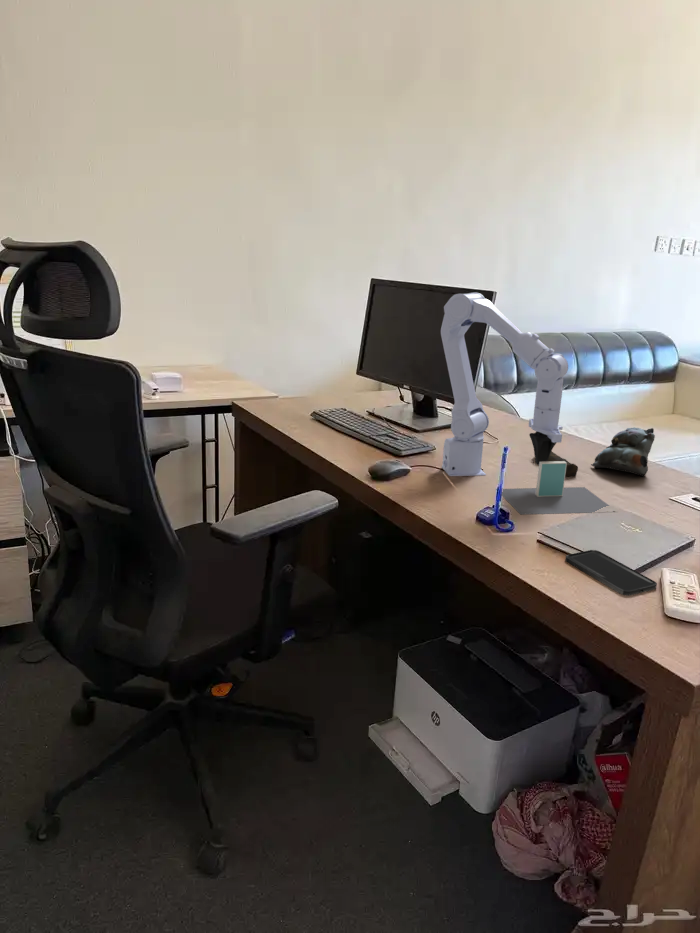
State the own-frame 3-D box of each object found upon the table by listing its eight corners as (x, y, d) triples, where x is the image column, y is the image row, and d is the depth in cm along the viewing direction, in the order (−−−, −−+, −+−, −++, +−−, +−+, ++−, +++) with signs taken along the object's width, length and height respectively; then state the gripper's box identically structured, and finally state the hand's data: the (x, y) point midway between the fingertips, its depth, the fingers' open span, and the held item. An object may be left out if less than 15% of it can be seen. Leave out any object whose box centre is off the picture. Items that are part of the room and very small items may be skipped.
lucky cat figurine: (582, 465, 180) (599, 416, 181) (618, 481, 182) (635, 433, 183) (616, 465, 165) (635, 413, 166) (656, 483, 168) (674, 431, 169)
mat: (520, 516, 144) (520, 514, 144) (495, 490, 159) (495, 488, 159) (617, 513, 147) (617, 511, 147) (584, 488, 162) (584, 487, 162)
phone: (595, 549, 127) (660, 584, 114) (594, 554, 127) (658, 589, 115) (562, 555, 124) (625, 592, 111) (561, 561, 124) (624, 598, 111)
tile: (537, 496, 155) (541, 463, 152) (535, 494, 156) (539, 461, 153) (562, 496, 155) (567, 462, 153) (560, 494, 157) (564, 461, 154)
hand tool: (577, 479, 169) (579, 461, 168) (562, 479, 169) (564, 461, 167) (545, 457, 187) (547, 441, 186) (531, 457, 187) (533, 441, 185)
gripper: (577, 414, 150) (570, 473, 154) (550, 400, 163) (544, 454, 167) (547, 415, 149) (540, 473, 153) (522, 400, 162) (517, 455, 167)
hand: (540, 463), depth 160 cm, fingers closed
